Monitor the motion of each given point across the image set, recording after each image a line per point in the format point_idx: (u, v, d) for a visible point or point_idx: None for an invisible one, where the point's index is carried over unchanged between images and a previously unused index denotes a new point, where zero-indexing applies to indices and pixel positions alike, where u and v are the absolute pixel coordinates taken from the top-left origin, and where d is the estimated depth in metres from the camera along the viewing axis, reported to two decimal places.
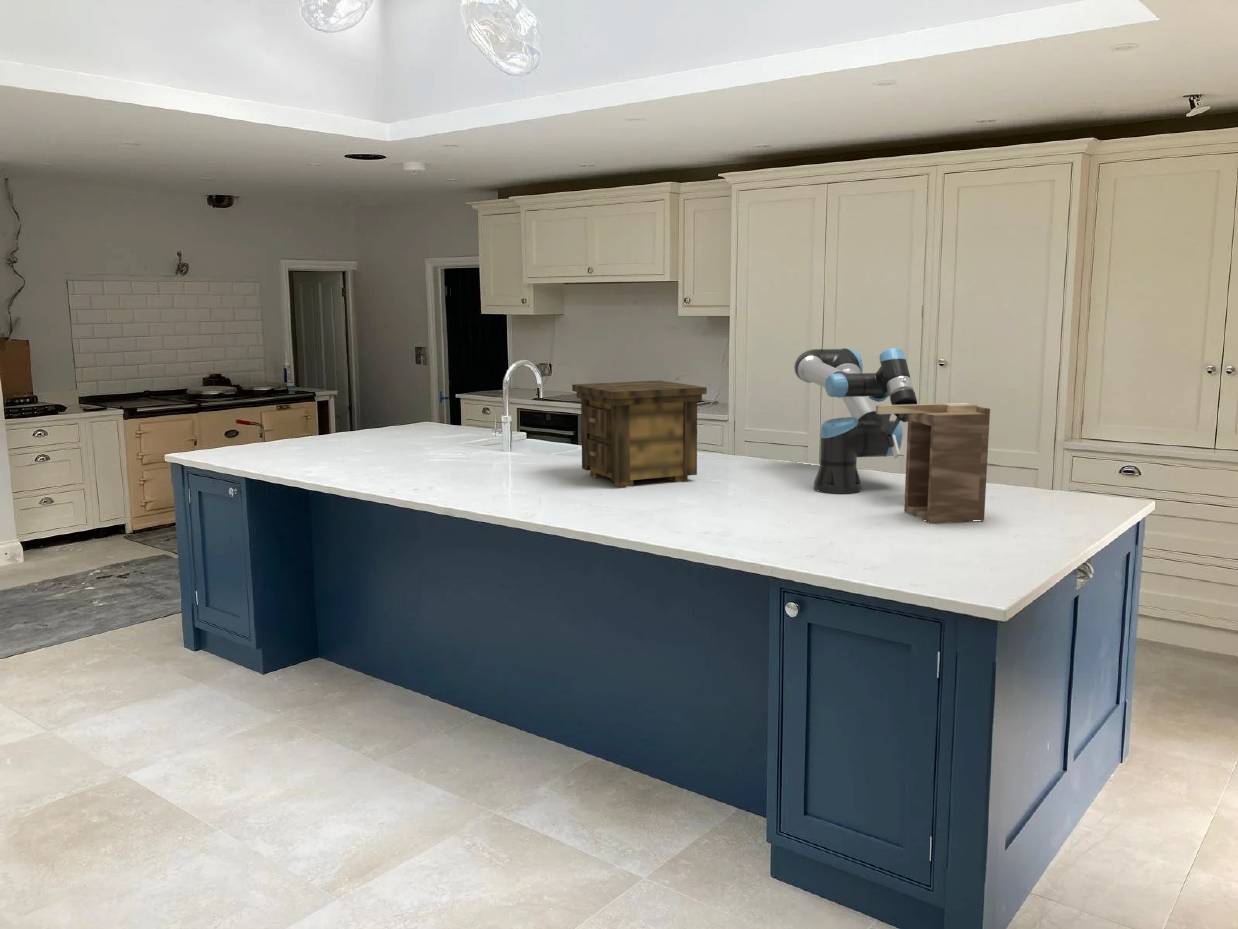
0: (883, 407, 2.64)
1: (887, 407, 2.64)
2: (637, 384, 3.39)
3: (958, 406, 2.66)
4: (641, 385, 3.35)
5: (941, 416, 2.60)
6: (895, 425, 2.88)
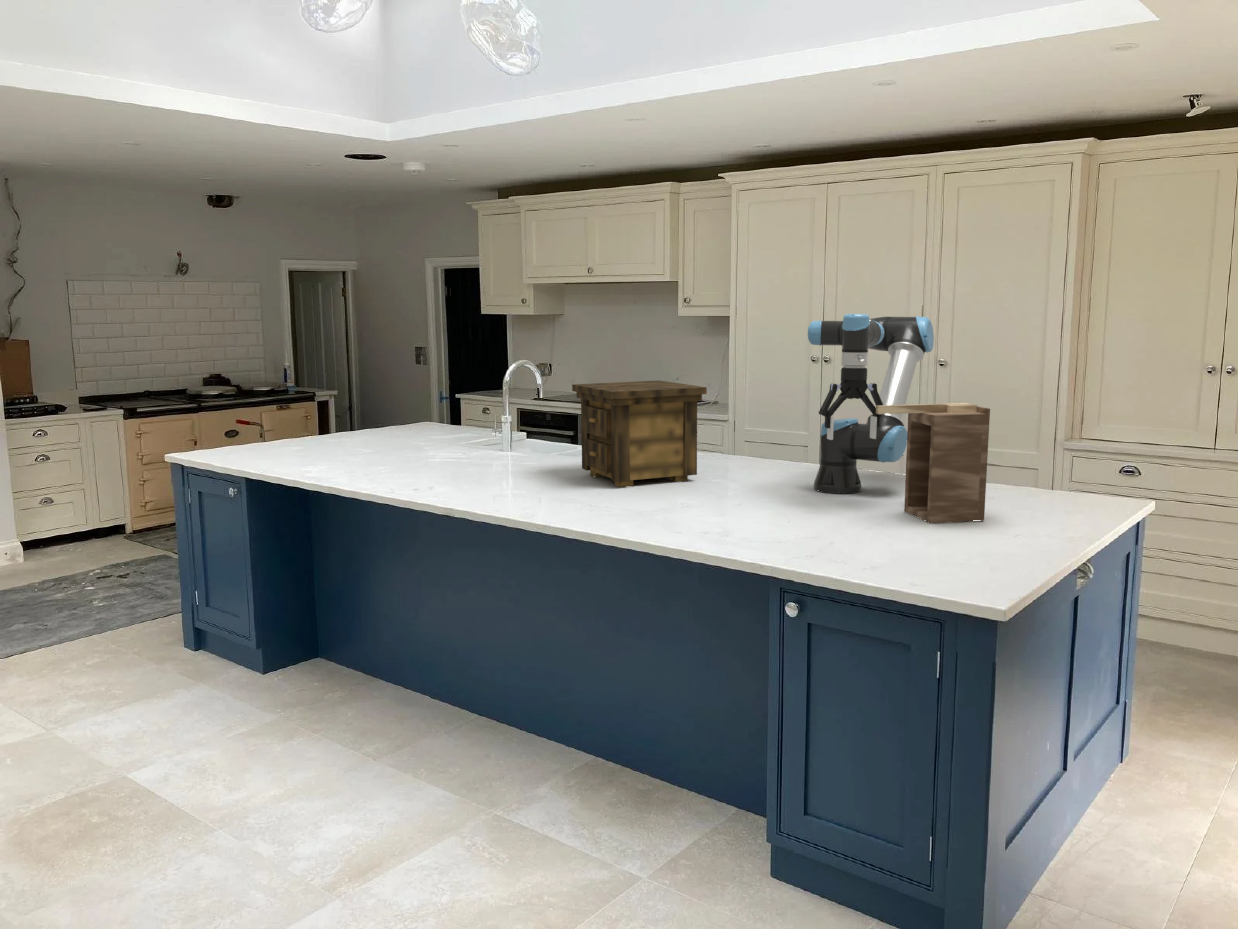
0: (883, 407, 2.64)
1: (887, 407, 2.64)
2: (637, 384, 3.39)
3: (958, 406, 2.66)
4: (641, 385, 3.35)
5: (941, 416, 2.60)
6: (837, 406, 2.80)
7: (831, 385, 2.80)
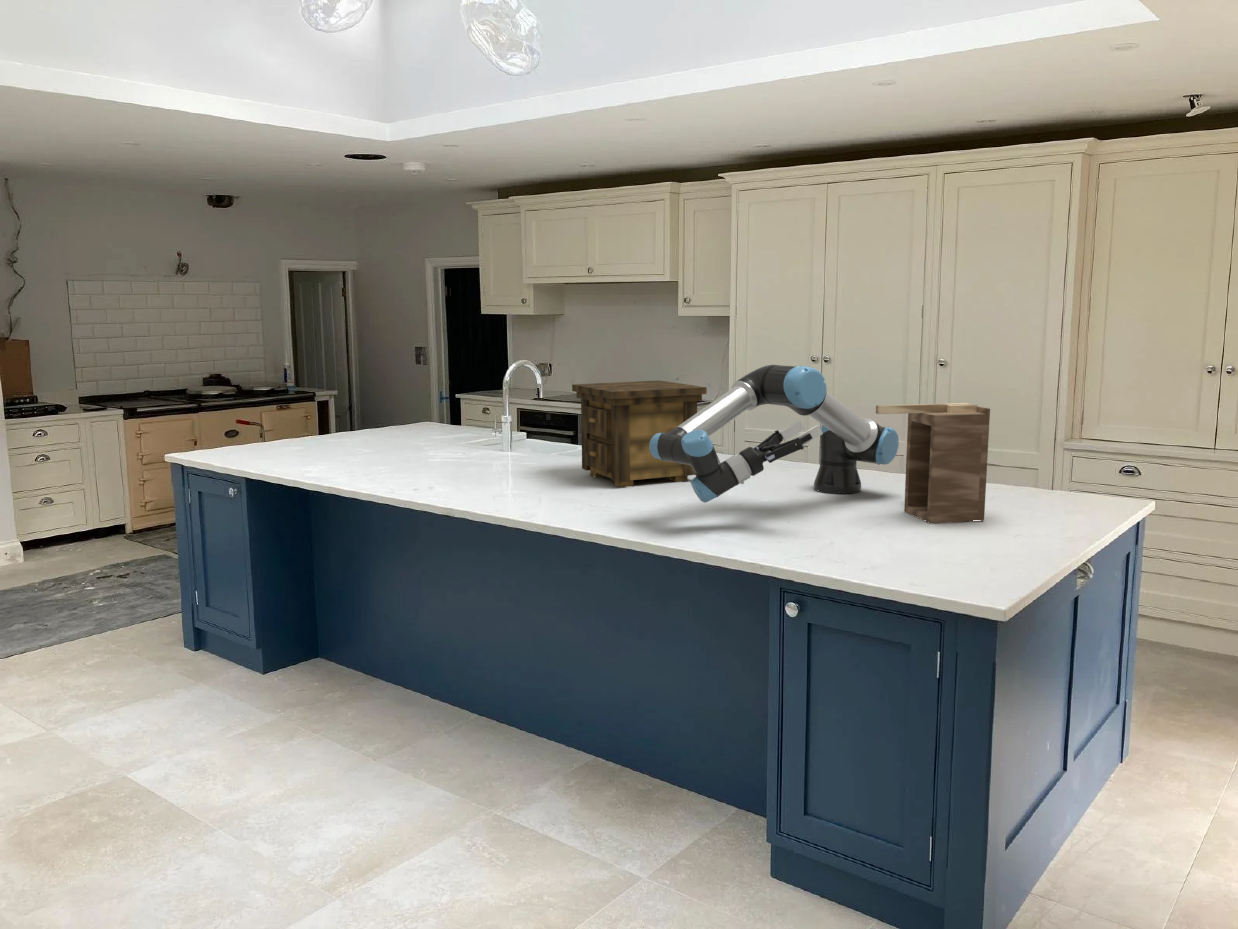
0: (883, 407, 2.64)
1: (887, 407, 2.64)
2: (637, 384, 3.39)
3: (958, 406, 2.66)
4: (641, 385, 3.35)
5: (941, 416, 2.60)
6: None
7: None
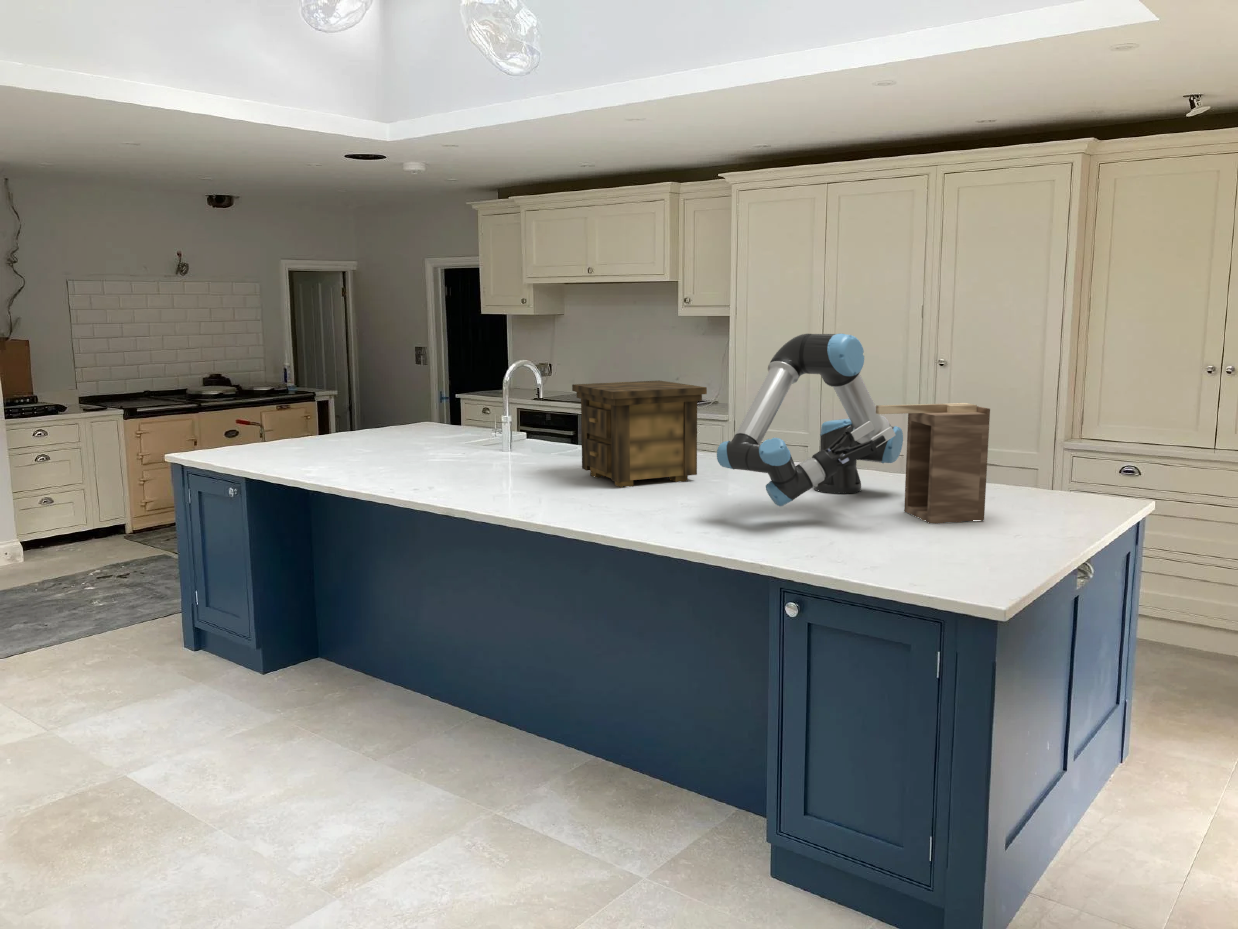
0: (883, 407, 2.64)
1: (887, 407, 2.64)
2: (637, 384, 3.39)
3: (958, 406, 2.66)
4: (641, 385, 3.35)
5: (941, 416, 2.60)
6: None
7: None
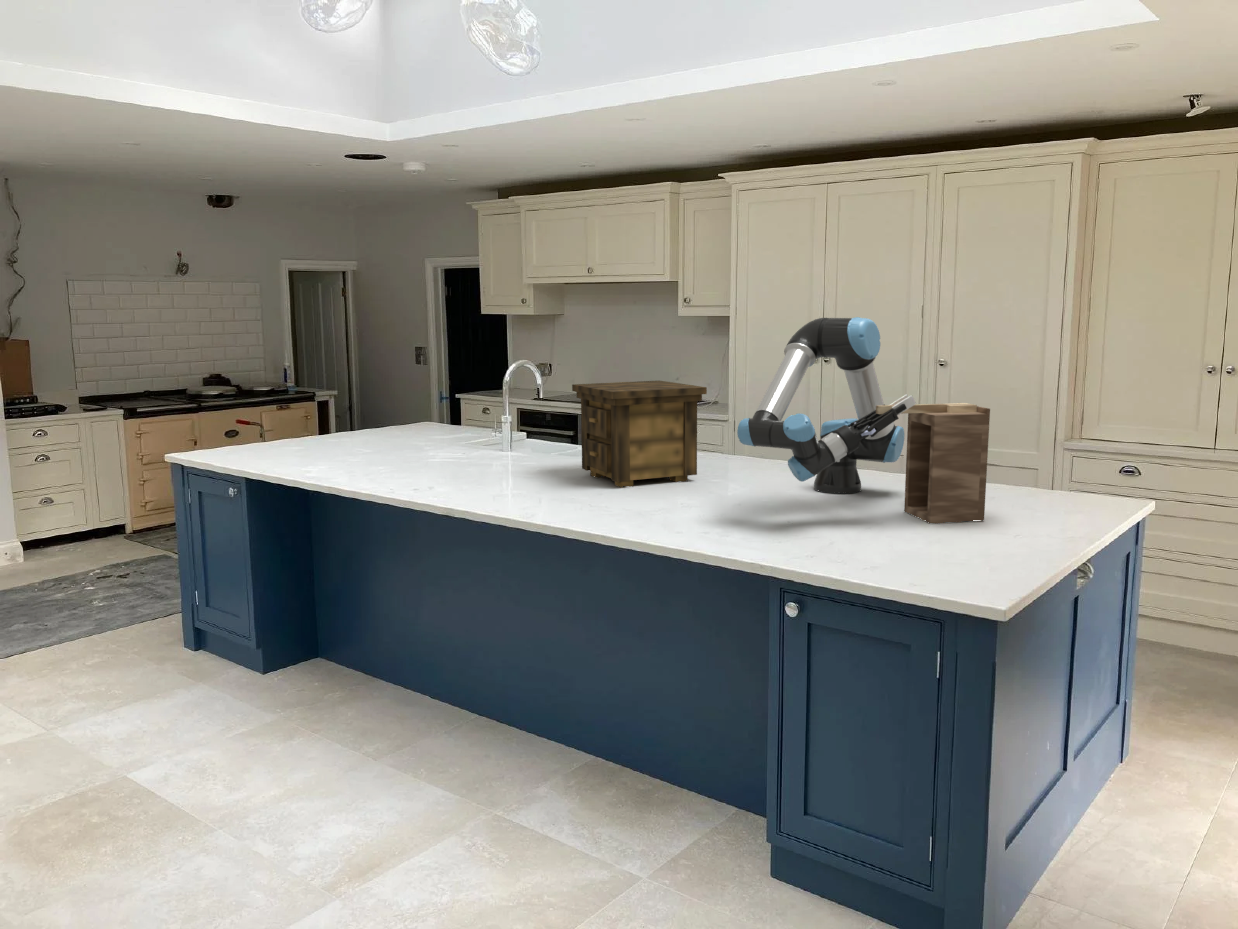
0: (883, 407, 2.64)
1: (887, 407, 2.64)
2: (637, 384, 3.39)
3: (958, 406, 2.66)
4: (641, 385, 3.35)
5: (941, 416, 2.60)
6: None
7: None
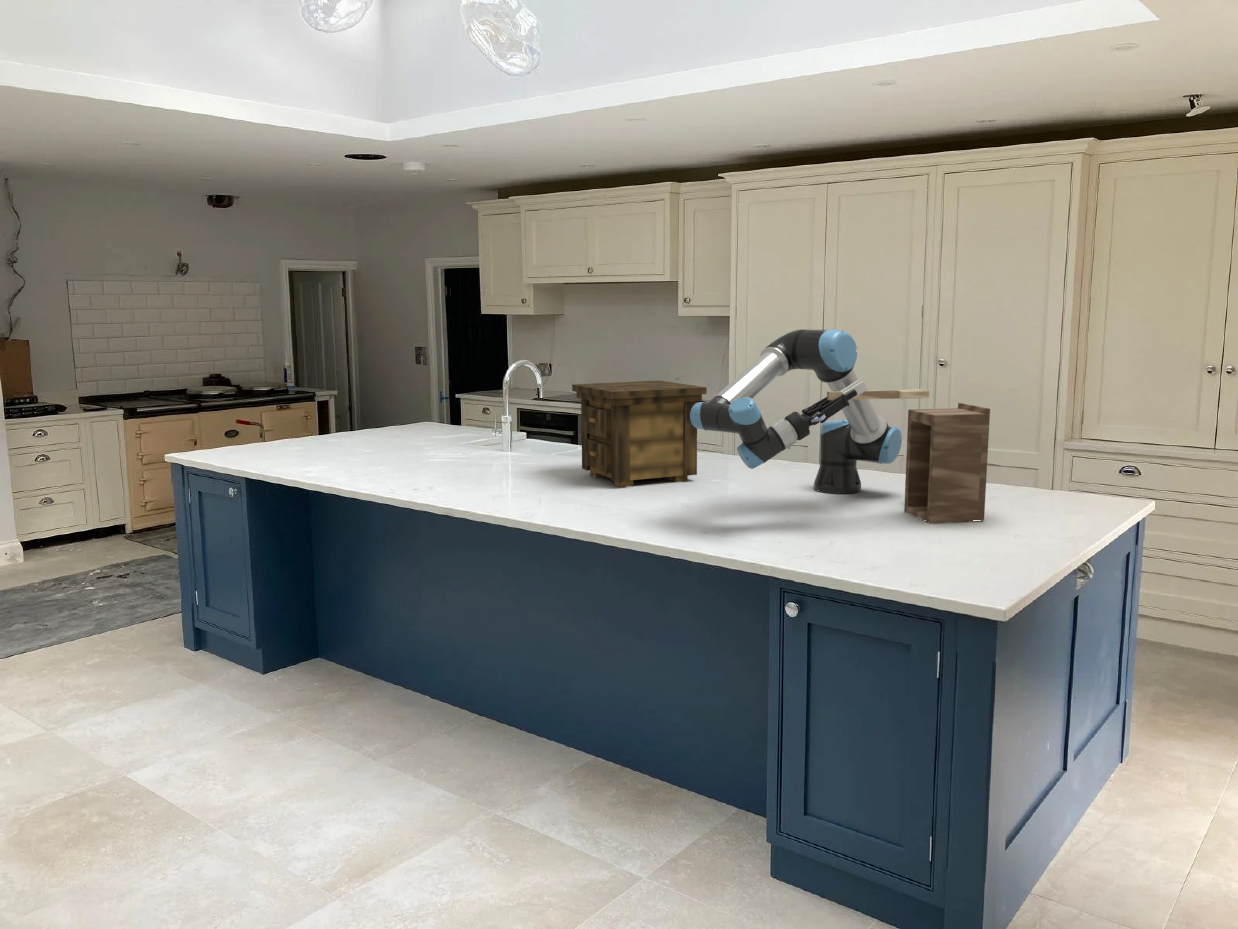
0: (834, 393, 2.60)
1: (838, 393, 2.61)
2: (637, 384, 3.39)
3: (910, 392, 2.62)
4: (641, 385, 3.35)
5: (941, 416, 2.60)
6: None
7: None
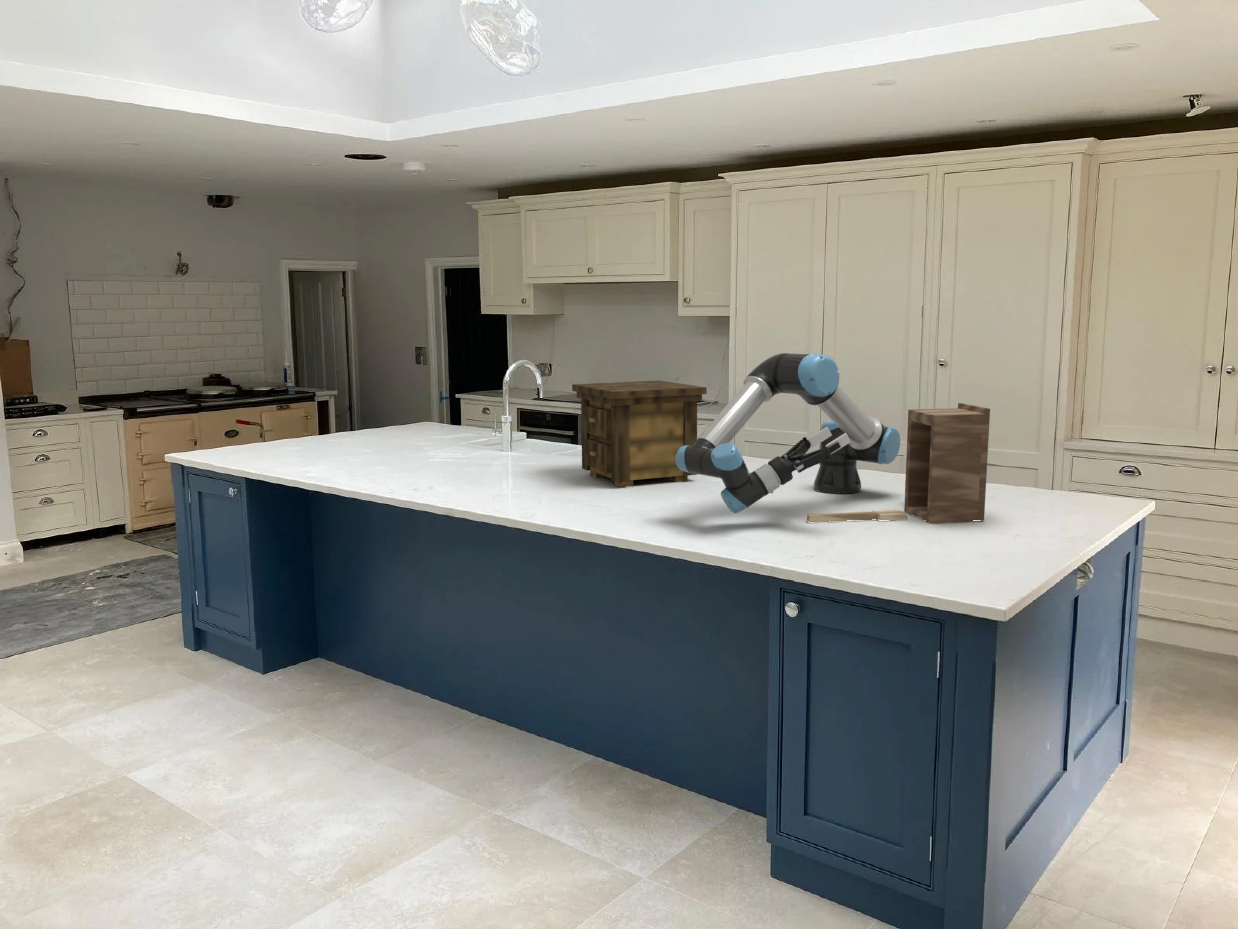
0: (813, 517, 2.66)
1: (817, 516, 2.67)
2: (637, 384, 3.39)
3: (888, 515, 2.68)
4: (641, 385, 3.35)
5: (941, 416, 2.60)
6: None
7: None
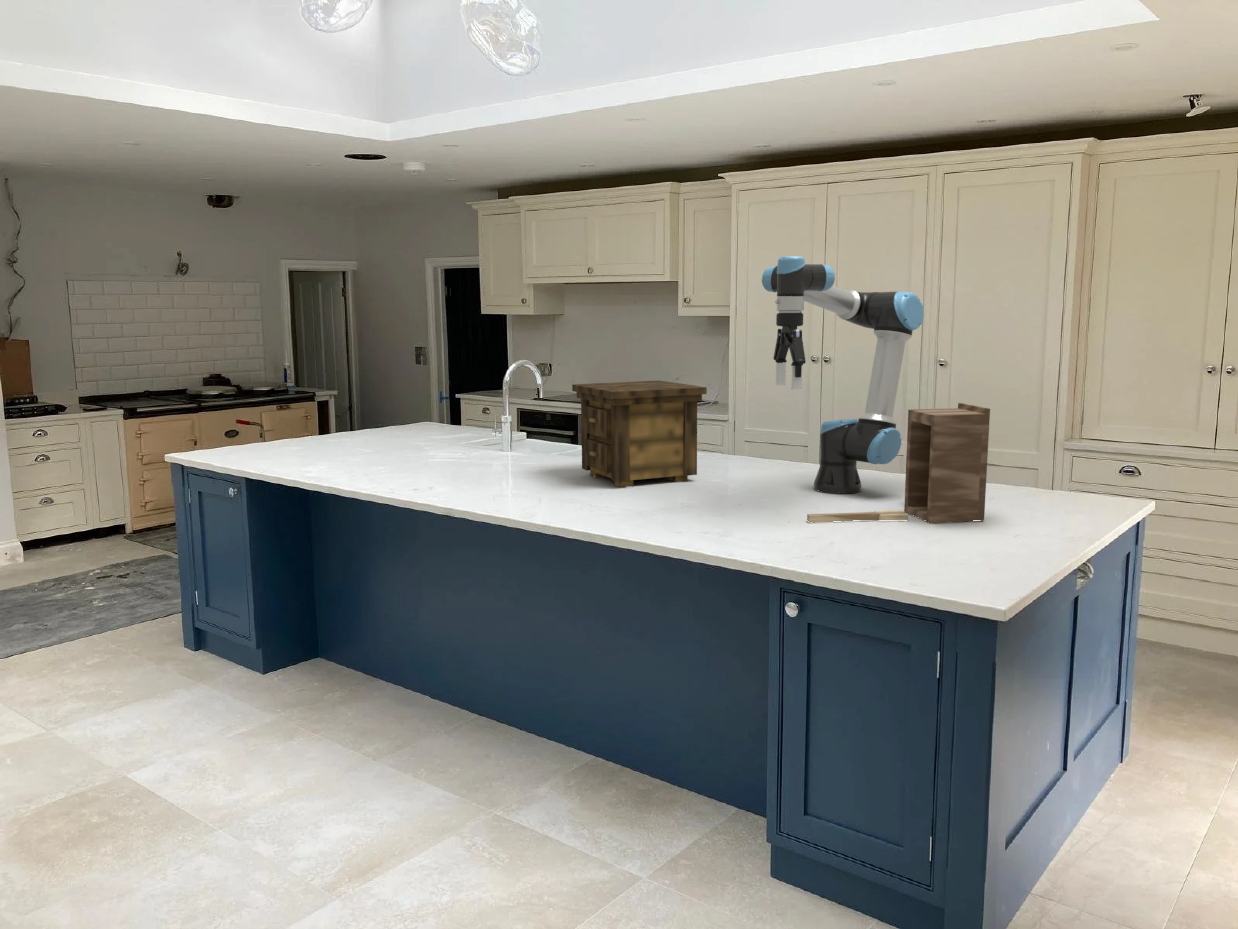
0: (813, 517, 2.66)
1: (817, 517, 2.66)
2: (637, 384, 3.39)
3: (889, 516, 2.67)
4: (641, 385, 3.35)
5: (941, 416, 2.60)
6: (778, 352, 2.78)
7: None
